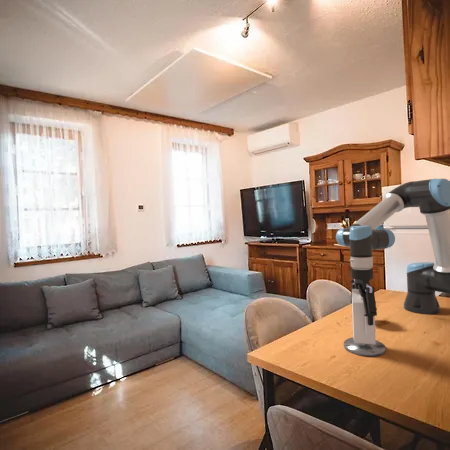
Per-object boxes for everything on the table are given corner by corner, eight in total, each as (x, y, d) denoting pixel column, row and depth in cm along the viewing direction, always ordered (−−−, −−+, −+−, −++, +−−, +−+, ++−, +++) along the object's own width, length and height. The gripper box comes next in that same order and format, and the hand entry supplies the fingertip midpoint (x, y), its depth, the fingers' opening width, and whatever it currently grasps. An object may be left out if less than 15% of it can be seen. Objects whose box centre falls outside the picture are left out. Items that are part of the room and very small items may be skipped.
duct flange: (373, 339, 123) (373, 336, 123) (393, 355, 109) (393, 351, 109) (338, 341, 123) (338, 338, 123) (353, 357, 109) (353, 354, 109)
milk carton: (353, 335, 120) (351, 286, 120) (373, 337, 118) (372, 287, 117) (354, 343, 114) (352, 291, 113) (375, 345, 111) (374, 292, 111)
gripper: (340, 263, 126) (342, 319, 126) (364, 274, 104) (366, 340, 105) (358, 262, 126) (360, 318, 126) (387, 272, 104) (389, 339, 105)
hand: (363, 328), depth 116 cm, fingers closed on milk carton, 9 cm apart
